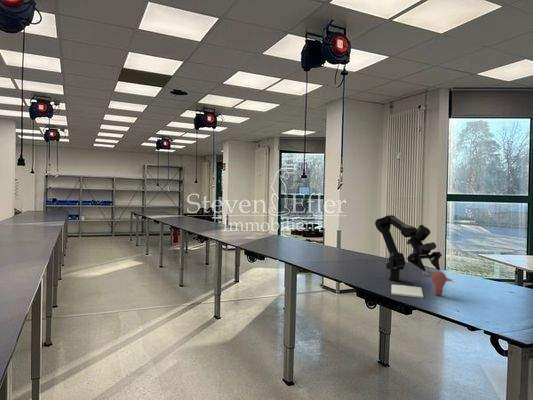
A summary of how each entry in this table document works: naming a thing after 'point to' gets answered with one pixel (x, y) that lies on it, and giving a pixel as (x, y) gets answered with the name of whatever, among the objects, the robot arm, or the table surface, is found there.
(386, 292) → the table surface
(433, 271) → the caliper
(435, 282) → the light bulb
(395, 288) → the mat
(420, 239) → the robot arm
